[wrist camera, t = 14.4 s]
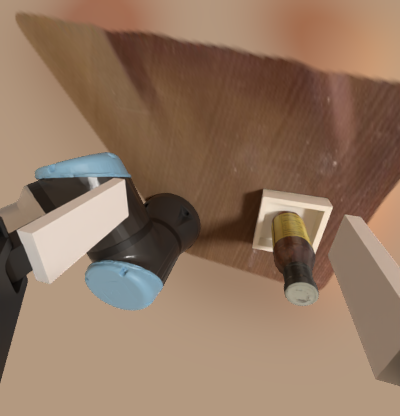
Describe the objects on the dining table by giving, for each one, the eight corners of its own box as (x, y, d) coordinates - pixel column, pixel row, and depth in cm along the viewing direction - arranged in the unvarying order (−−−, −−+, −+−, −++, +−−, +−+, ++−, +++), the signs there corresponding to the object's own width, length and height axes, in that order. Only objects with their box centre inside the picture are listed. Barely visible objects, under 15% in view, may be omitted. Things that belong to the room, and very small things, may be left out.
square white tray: (253, 237, 50) (252, 247, 47) (263, 188, 45) (263, 196, 41) (309, 248, 48) (312, 260, 44) (327, 198, 42) (332, 207, 39)
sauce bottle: (292, 239, 47) (307, 322, 30) (265, 227, 47) (264, 301, 30) (310, 216, 44) (339, 293, 26) (281, 202, 44) (291, 270, 27)
